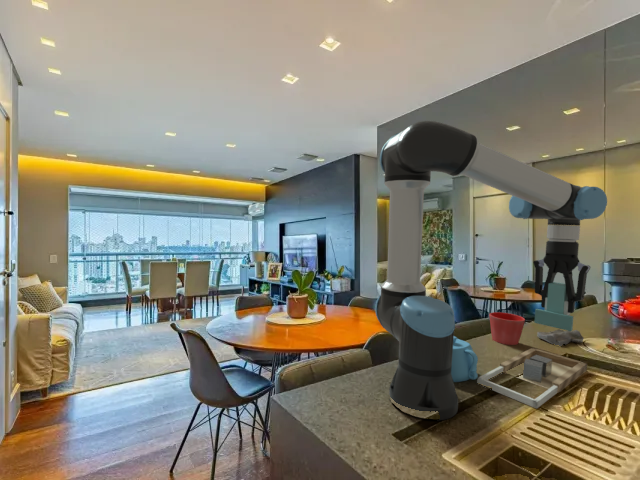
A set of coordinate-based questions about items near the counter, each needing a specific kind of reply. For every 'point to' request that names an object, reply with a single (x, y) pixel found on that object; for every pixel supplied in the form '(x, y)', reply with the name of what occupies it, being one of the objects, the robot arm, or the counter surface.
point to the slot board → (561, 368)
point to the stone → (561, 337)
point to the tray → (513, 394)
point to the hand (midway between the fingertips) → (556, 321)
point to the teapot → (463, 361)
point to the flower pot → (506, 327)
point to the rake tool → (555, 309)
